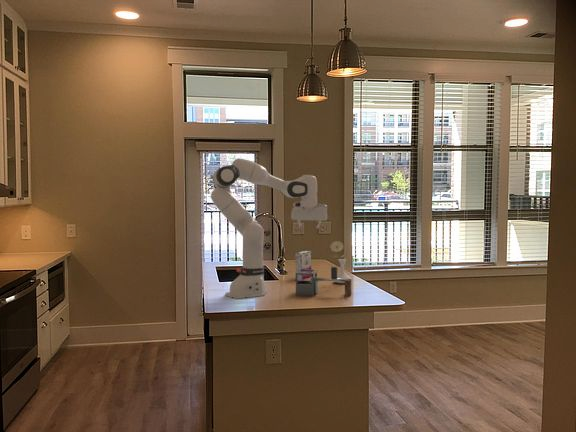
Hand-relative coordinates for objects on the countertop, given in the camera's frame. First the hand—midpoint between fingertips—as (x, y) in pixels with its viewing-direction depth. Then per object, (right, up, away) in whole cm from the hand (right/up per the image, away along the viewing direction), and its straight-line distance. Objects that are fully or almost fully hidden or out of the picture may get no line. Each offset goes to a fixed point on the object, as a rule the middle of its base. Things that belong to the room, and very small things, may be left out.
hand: (309, 228), depth 281 cm
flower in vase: (+20, -33, +17) cm, 42 cm away
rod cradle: (+20, -35, -17) cm, 44 cm away
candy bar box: (-2, -32, +36) cm, 48 cm away
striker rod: (+10, -34, -15) cm, 39 cm away
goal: (-2, -35, -12) cm, 37 cm away
